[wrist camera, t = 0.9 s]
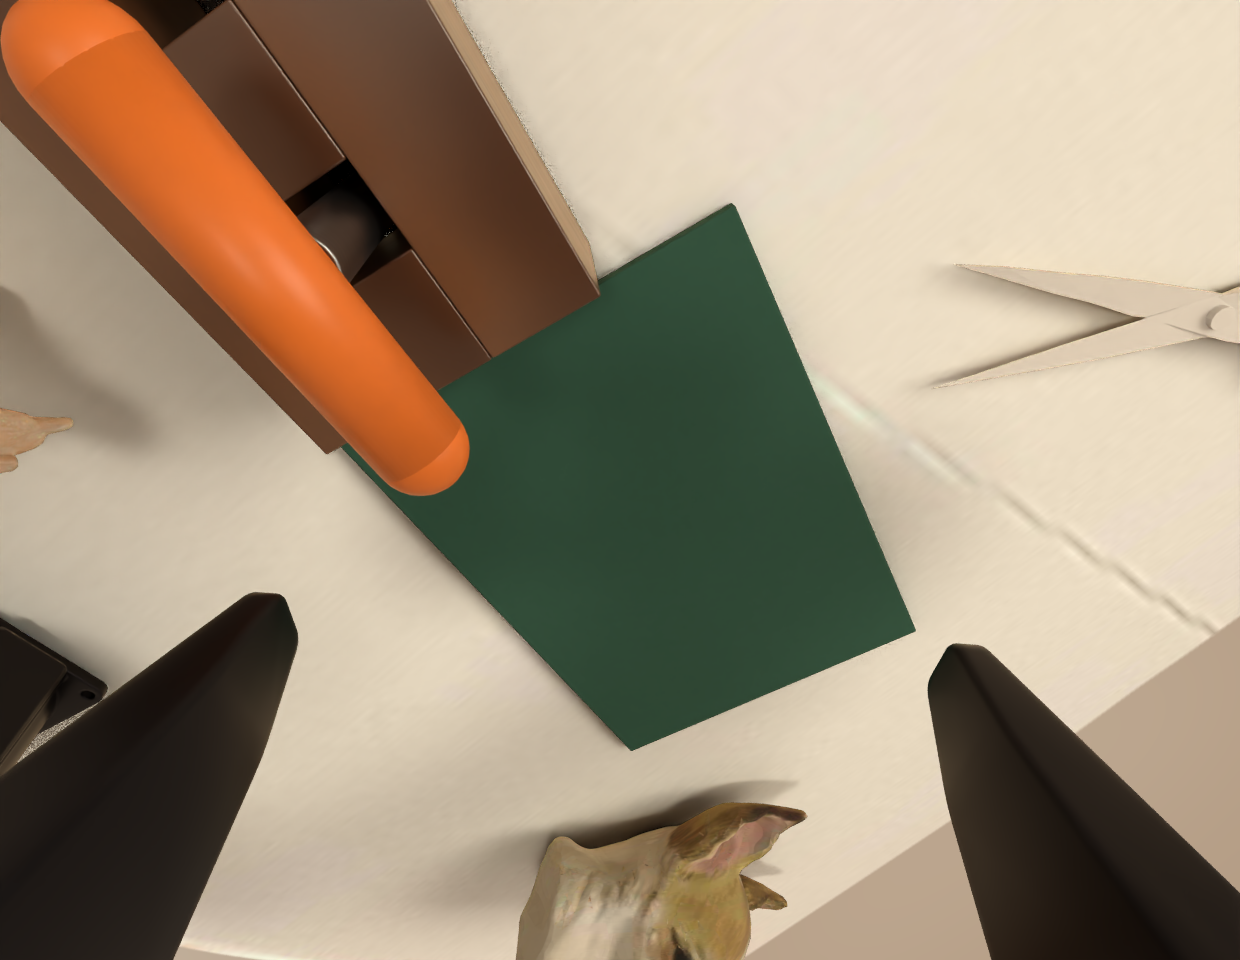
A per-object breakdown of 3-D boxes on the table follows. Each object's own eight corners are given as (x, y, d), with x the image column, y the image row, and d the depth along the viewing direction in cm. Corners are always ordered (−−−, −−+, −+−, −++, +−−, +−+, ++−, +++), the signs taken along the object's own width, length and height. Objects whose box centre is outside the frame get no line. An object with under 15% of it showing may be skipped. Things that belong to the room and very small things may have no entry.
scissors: (1431, 430, 25) (908, 479, 24) (1408, 419, 26) (899, 467, 24) (1666, 102, 19) (989, 143, 18) (1630, 100, 20) (973, 138, 18)
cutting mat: (630, 744, 32) (631, 751, 32) (335, 433, 22) (332, 439, 21) (912, 624, 30) (916, 631, 29) (731, 201, 19) (735, 205, 19)
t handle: (455, 339, 20) (405, 529, 13) (226, 33, 16) (-72, 38, 8) (506, 310, 20) (485, 487, 12) (286, -13, 15) (35, -52, 8)
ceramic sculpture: (495, 1014, 26) (862, 940, 28) (494, 803, 33) (786, 753, 35) (526, 1099, 32) (826, 1033, 34) (519, 904, 39) (768, 858, 41)
